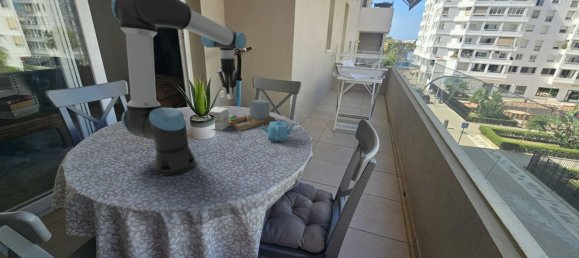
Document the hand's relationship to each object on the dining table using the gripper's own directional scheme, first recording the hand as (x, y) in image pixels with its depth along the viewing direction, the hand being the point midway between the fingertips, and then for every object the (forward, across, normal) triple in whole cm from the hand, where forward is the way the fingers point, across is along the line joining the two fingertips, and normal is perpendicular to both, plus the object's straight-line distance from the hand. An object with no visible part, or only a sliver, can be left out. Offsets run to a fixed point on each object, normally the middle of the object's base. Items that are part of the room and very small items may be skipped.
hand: (230, 98), depth 143 cm
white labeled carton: (+15, +11, +6) cm, 20 cm away
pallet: (+14, -7, +12) cm, 20 cm away
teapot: (+15, -6, +38) cm, 42 cm away
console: (+14, 0, 0) cm, 14 cm away
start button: (+13, 0, 0) cm, 13 cm away
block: (+13, -13, +12) cm, 22 cm away
